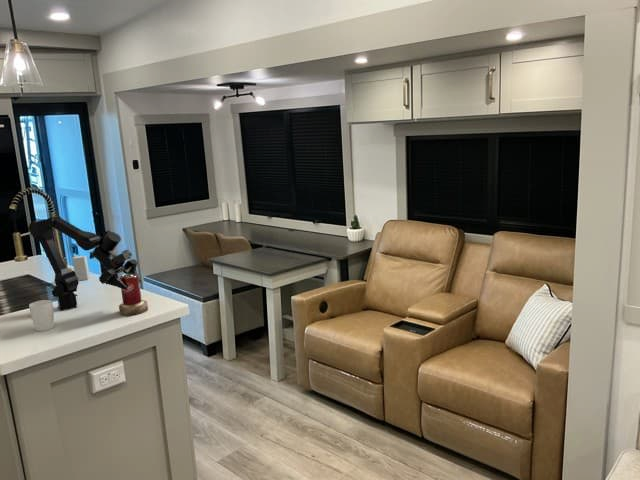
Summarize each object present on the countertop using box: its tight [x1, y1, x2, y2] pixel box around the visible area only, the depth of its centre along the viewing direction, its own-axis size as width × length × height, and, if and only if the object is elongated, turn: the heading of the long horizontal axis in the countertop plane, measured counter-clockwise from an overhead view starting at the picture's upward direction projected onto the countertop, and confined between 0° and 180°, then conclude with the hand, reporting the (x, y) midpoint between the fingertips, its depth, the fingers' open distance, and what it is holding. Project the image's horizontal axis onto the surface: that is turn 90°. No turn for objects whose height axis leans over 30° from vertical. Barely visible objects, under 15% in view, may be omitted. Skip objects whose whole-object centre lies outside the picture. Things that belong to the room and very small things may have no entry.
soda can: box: [119, 273, 143, 306], centre depth 215 cm, size 7×7×12 cm
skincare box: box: [71, 255, 91, 282], centre depth 270 cm, size 6×4×12 cm
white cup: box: [28, 299, 55, 332], centre depth 202 cm, size 8×8×10 cm
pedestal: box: [118, 299, 149, 317], centre depth 217 cm, size 11×11×3 cm
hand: (133, 285), depth 214 cm, fingers open, 9 cm apart
